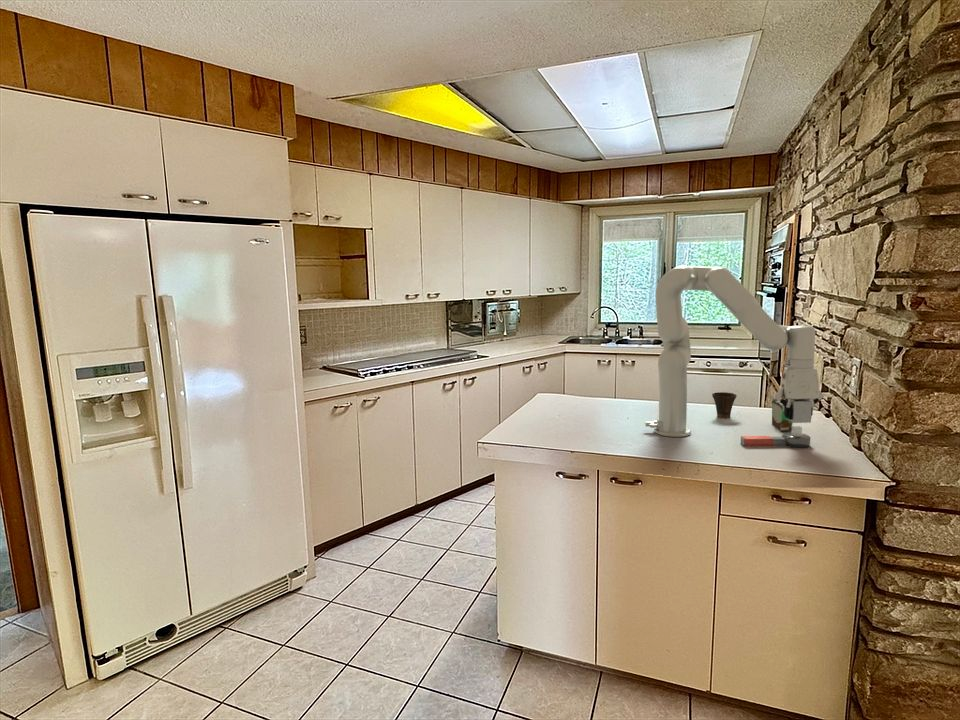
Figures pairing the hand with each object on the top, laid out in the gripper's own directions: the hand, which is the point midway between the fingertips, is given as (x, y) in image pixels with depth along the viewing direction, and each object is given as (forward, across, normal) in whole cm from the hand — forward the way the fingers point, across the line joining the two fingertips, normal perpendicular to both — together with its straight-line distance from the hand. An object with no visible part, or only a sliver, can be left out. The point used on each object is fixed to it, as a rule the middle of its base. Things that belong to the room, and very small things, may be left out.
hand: (798, 417), depth 175 cm
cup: (+9, -11, +36) cm, 39 cm away
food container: (+9, +5, +19) cm, 22 cm away
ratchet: (+9, -7, 0) cm, 11 cm away
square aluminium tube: (+1, 0, 0) cm, 1 cm away
